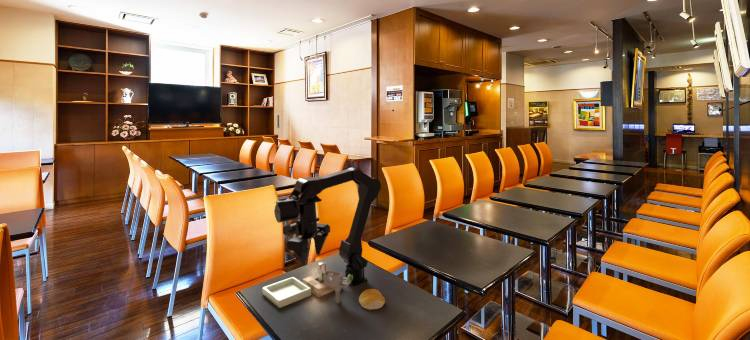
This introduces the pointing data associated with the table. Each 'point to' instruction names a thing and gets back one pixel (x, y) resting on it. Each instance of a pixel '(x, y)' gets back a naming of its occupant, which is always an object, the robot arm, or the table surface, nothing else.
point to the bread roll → (371, 299)
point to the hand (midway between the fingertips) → (311, 260)
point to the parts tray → (286, 291)
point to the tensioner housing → (317, 286)
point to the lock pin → (321, 271)
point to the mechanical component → (336, 281)
